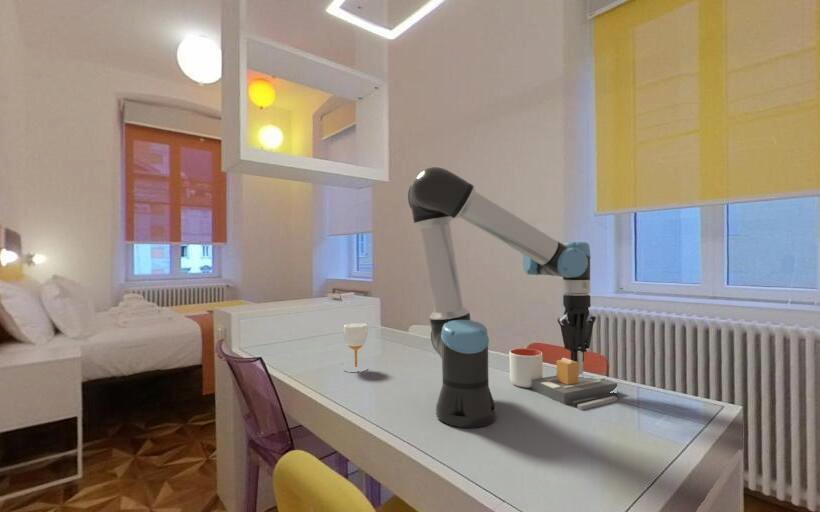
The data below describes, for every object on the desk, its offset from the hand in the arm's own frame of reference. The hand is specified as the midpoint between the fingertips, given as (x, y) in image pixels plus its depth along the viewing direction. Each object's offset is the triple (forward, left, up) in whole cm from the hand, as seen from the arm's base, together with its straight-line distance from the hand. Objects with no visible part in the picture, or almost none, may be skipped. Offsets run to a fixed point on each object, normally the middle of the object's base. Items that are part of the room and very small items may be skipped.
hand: (577, 373), depth 118 cm
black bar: (-3, -9, -5) cm, 10 cm away
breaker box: (-2, 0, -5) cm, 5 cm away
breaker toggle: (-4, 0, -2) cm, 4 cm away
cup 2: (-54, +51, -5) cm, 74 cm away
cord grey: (-4, -11, -5) cm, 12 cm away
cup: (-10, +12, -6) cm, 16 cm away
